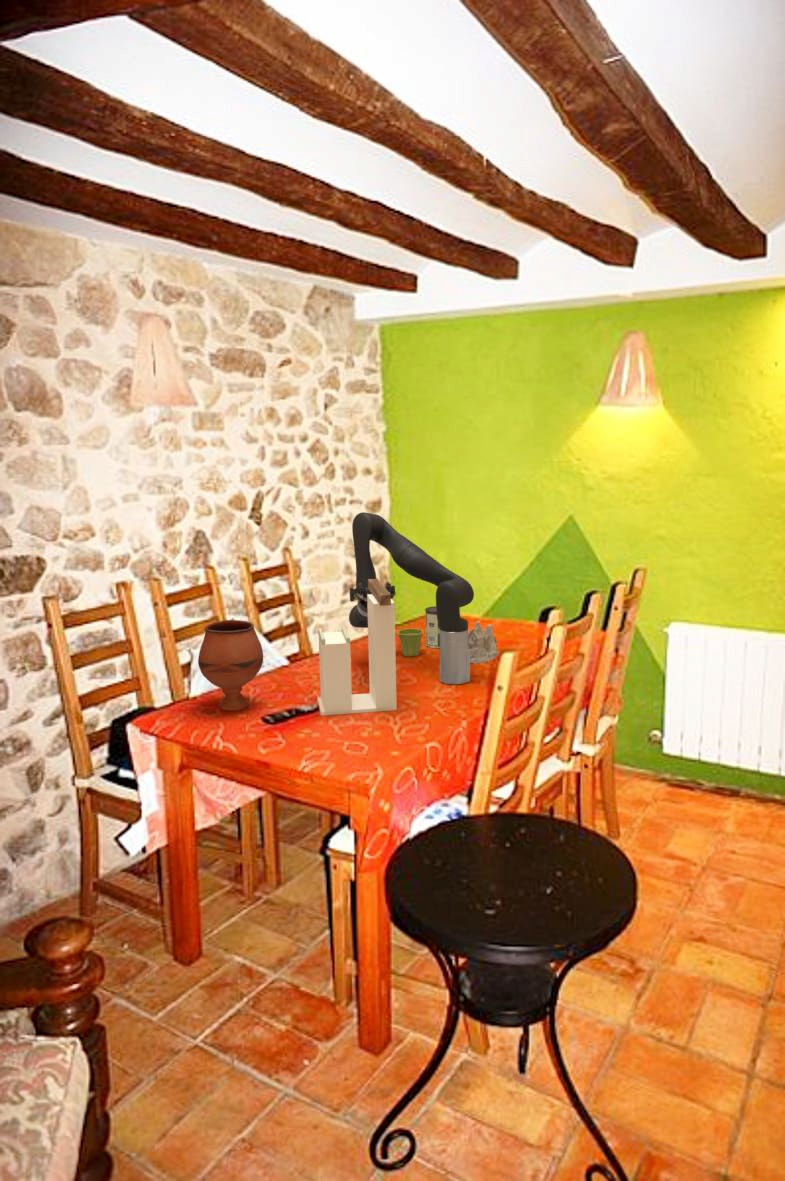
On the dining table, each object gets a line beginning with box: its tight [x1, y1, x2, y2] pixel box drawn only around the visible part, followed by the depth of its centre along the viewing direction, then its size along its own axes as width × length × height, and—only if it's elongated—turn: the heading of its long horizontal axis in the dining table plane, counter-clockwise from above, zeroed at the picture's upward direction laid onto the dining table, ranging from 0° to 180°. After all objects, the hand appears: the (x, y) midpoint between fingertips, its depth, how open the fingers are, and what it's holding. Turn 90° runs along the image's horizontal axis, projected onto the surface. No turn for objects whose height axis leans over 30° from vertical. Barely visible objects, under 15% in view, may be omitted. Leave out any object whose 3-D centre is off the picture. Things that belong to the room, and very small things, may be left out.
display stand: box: [317, 594, 397, 716], centre depth 236 cm, size 22×14×32 cm, turn 99°
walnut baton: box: [368, 578, 391, 606], centre depth 237 cm, size 3×26×3 cm, turn 9°
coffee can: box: [424, 605, 440, 649], centre depth 304 cm, size 10×10×14 cm
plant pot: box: [396, 628, 424, 657], centre depth 292 cm, size 9×9×9 cm
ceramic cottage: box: [468, 621, 500, 665], centre depth 286 cm, size 16×16×15 cm
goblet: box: [197, 619, 264, 712], centre depth 238 cm, size 19×19×25 cm
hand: (374, 585), depth 246 cm, fingers open, 8 cm apart
